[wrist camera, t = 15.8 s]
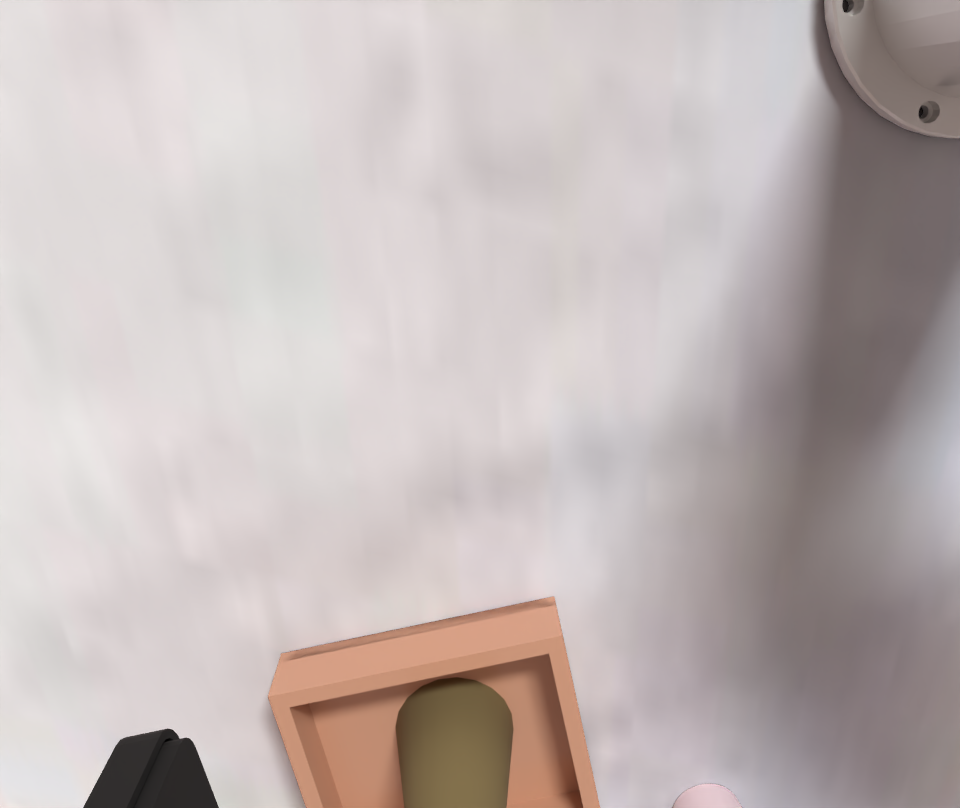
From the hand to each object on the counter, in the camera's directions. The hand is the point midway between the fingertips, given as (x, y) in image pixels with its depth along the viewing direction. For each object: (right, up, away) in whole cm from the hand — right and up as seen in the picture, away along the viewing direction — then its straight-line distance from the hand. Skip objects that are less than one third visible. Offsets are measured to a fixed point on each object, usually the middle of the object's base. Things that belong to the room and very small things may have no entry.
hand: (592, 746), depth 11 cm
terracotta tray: (-3, -13, +36) cm, 38 cm away
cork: (-3, -12, +35) cm, 37 cm away
